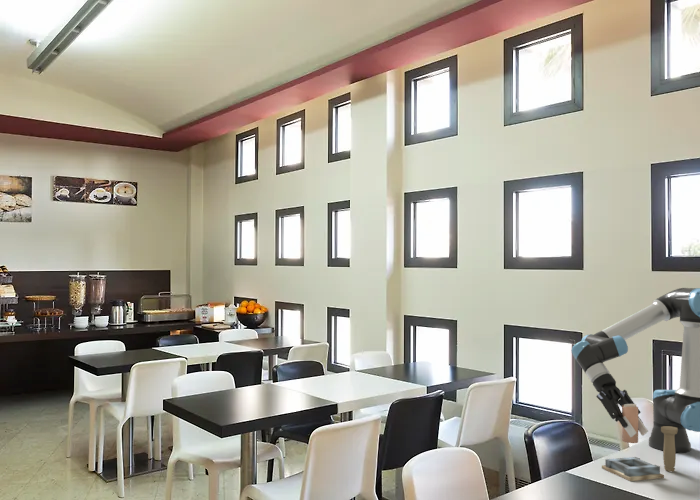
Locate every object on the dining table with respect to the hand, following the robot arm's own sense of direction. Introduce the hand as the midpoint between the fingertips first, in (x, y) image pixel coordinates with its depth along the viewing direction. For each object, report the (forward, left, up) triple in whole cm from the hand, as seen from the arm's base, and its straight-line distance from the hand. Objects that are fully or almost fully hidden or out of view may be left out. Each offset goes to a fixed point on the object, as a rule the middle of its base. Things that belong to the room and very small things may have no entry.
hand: (639, 434), depth 210 cm
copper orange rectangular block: (+1, -4, -3) cm, 5 cm away
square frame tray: (0, -4, -14) cm, 15 cm away
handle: (-15, -3, -14) cm, 21 cm away
